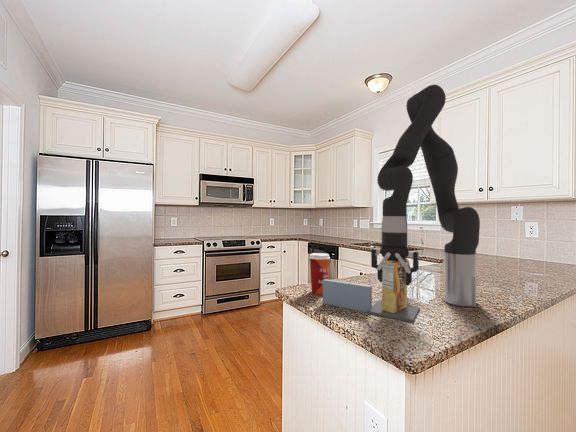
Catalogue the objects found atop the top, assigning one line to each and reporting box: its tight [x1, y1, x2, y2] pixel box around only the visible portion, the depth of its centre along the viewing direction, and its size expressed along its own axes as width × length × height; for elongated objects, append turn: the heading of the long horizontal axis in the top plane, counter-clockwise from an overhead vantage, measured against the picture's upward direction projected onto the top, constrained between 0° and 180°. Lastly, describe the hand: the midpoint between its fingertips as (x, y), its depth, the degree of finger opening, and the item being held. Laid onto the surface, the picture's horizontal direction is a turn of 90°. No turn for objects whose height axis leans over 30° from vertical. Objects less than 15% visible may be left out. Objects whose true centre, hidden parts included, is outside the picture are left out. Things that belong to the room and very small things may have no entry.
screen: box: [322, 278, 373, 313], centre depth 89 cm, size 16×2×8 cm, turn 57°
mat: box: [366, 299, 421, 323], centre depth 85 cm, size 13×13×1 cm
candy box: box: [381, 259, 409, 313], centre depth 85 cm, size 9×4×15 cm, turn 132°
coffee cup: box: [308, 252, 331, 296], centre depth 106 cm, size 8×8×15 cm
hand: (394, 283), depth 85 cm, fingers open, 7 cm apart
